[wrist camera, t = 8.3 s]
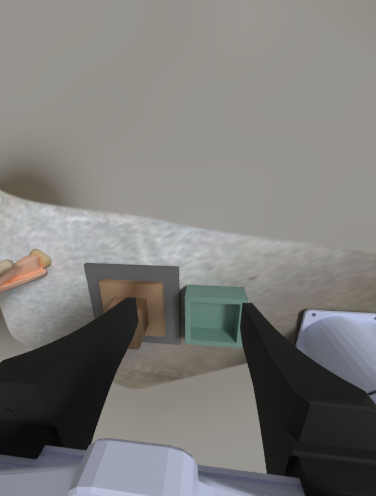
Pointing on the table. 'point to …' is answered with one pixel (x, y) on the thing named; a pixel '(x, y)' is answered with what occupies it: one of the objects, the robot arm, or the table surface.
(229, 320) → the green storage tray
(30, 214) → the table surface
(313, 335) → the robot arm
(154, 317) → the lid
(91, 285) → the mat
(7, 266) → the grandmother figurine
